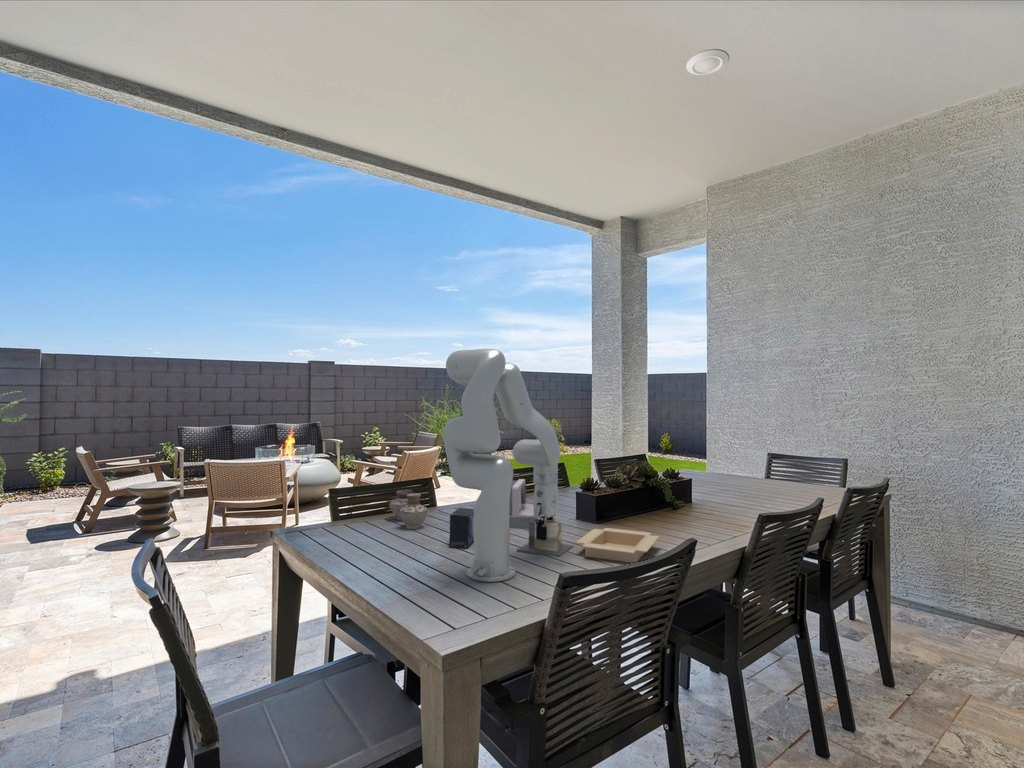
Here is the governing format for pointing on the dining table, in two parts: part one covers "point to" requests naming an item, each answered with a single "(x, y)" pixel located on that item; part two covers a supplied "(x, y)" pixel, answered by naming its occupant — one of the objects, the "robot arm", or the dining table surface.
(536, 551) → the mat
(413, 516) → the pottery
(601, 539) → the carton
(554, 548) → the box
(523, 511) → the grey l-shaped block
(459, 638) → the dining table surface
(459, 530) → the small box
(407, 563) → the dining table surface
